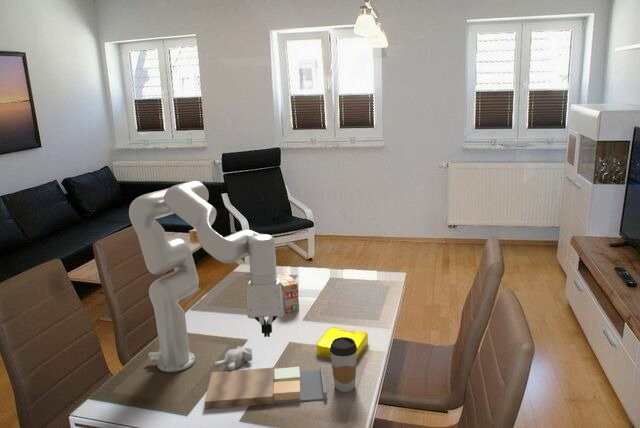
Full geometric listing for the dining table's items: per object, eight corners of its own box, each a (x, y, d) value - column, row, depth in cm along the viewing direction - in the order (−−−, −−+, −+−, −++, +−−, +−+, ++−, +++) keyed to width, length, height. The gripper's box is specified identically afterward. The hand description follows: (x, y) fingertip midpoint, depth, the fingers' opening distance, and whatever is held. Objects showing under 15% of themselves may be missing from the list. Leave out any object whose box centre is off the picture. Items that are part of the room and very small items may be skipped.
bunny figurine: (258, 345, 180) (234, 362, 167) (258, 359, 181) (235, 377, 168) (235, 341, 184) (210, 357, 171) (235, 355, 185) (210, 372, 171)
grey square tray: (273, 403, 154) (272, 396, 153) (274, 374, 169) (273, 367, 169) (327, 399, 155) (326, 392, 154) (323, 370, 170) (322, 364, 170)
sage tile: (274, 386, 162) (274, 379, 161) (274, 375, 168) (274, 368, 167) (300, 383, 163) (300, 376, 162) (299, 373, 168) (299, 366, 168)
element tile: (369, 342, 188) (369, 330, 186) (356, 363, 174) (355, 350, 173) (330, 336, 193) (330, 324, 192) (315, 356, 180) (314, 343, 179)
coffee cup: (356, 378, 165) (355, 335, 161) (359, 393, 157) (358, 348, 153) (330, 379, 165) (328, 336, 161) (332, 395, 157) (330, 350, 153)
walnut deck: (205, 409, 153) (204, 401, 152) (212, 379, 168) (211, 372, 168) (273, 403, 154) (272, 396, 153) (274, 374, 169) (273, 367, 169)
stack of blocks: (269, 295, 233) (267, 269, 230) (282, 292, 235) (280, 267, 232) (285, 313, 214) (283, 285, 211) (299, 310, 216) (298, 282, 213)
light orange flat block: (273, 400, 155) (273, 393, 154) (274, 389, 160) (273, 382, 160) (300, 398, 155) (300, 391, 154) (300, 387, 161) (299, 380, 160)
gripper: (236, 283, 145) (240, 342, 150) (289, 280, 146) (292, 339, 151) (238, 273, 153) (242, 330, 157) (289, 271, 153) (292, 327, 158)
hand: (267, 334), depth 154 cm, fingers closed
